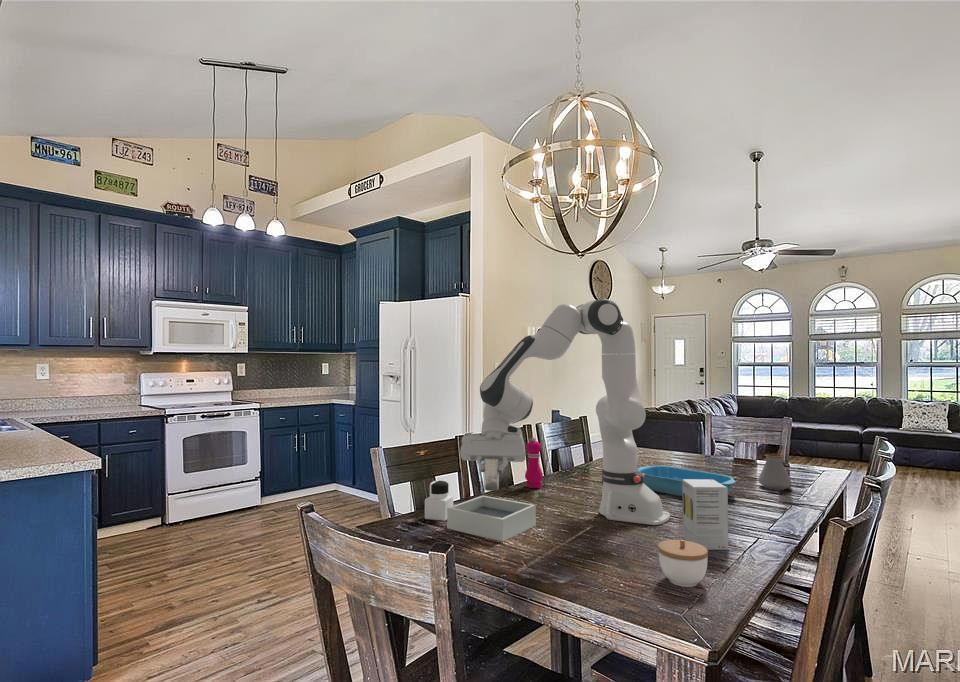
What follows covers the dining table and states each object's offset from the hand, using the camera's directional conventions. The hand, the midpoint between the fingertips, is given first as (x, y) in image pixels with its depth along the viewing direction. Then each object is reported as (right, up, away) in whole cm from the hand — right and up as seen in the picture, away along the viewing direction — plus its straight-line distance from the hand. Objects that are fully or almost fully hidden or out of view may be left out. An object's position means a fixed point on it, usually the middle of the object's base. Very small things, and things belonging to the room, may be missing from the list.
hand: (491, 471), depth 159 cm
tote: (0, -18, 0) cm, 18 cm away
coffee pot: (+116, -19, +54) cm, 130 cm away
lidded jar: (+43, -16, -38) cm, 60 cm away
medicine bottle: (-17, -18, +11) cm, 27 cm away
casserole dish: (+76, -19, +46) cm, 91 cm away
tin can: (0, -5, 0) cm, 5 cm away
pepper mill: (+18, -20, +54) cm, 60 cm away
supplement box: (+59, -17, -13) cm, 63 cm away
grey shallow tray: (0, -17, 0) cm, 17 cm away
